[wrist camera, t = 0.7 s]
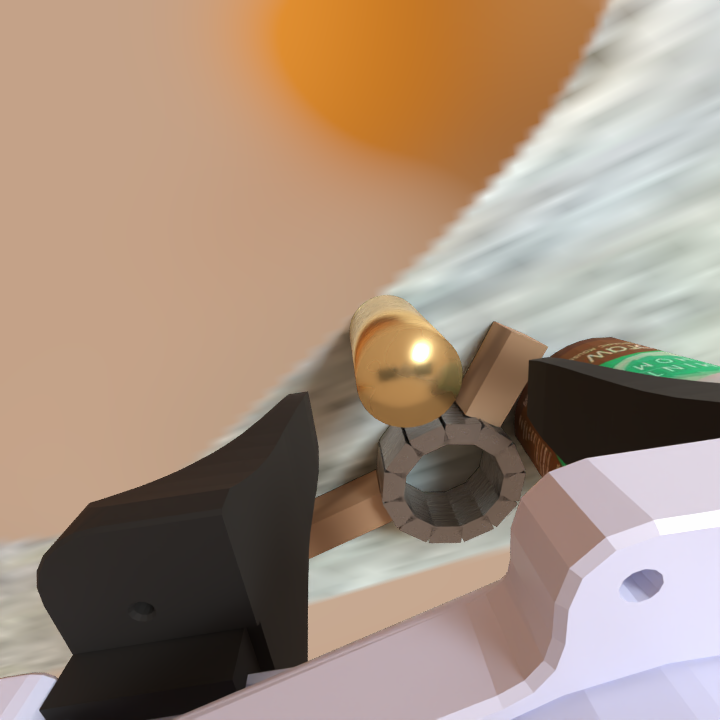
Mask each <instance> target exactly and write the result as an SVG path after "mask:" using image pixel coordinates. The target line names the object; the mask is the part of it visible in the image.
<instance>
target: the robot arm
mask: <svg viewBox="0 0 720 720" xmlns="http://www.w3.org/2000/svg"><path fill="white" fill-rule="evenodd" d="M527 417H528V418H529V420H530V422H531V423H532V425H533V426H534V428H535V429H536V431H537V432H538V433H539V435H540V436H541V438H542V439H543V440H544V441H545V442H546V444H547V445H548V446H549V447H550V448H551V449H552V450H553V451H554V452H555V453H556V454H557V456H558V457H559V458H560V459H561V460H562V461H563V462H564V463H565V464H566V466H564V467H561V468H558V469H555V470H553V471H550V472H548V473H547V474H546V475H544V476H543V477H542V478H541V479H540V480H539V481H538V482H537V483H536V484H535V485H534V486H533V487H532V488H531V489H530V490H529V491H528V492H527V493H525V494H524V495H523V497H522V498H521V499H520V502H519V505H518V508H517V511H516V514H515V517H514V520H513V523H512V526H511V540H510V563H509V568H508V572H507V573H506V575H505V576H504V577H502V578H501V579H500V580H498V581H496V582H493V583H491V584H489V585H486V586H484V587H482V588H479V589H477V590H475V591H473V592H470V593H468V594H465V595H463V596H461V597H458V598H456V599H454V600H451V601H449V602H446V603H444V604H442V605H439V606H437V607H435V608H432V609H430V610H427V611H425V612H423V613H420V614H418V615H416V616H413V617H411V618H409V619H406V620H404V621H402V622H399V623H397V624H395V625H392V626H390V627H387V628H385V629H383V630H380V631H378V632H376V633H373V634H371V635H369V636H366V637H364V638H362V639H359V640H357V641H354V642H352V643H350V644H347V645H345V646H343V647H340V648H338V649H336V650H333V651H331V652H329V653H326V654H324V655H321V656H319V657H317V658H314V659H312V660H310V661H308V658H307V657H308V654H307V653H308V572H309V543H310V532H311V525H312V518H313V510H314V503H315V496H316V489H317V481H318V473H319V451H318V442H317V436H316V431H315V426H314V421H313V416H312V410H311V405H310V400H309V395H308V392H302V393H295V394H289V395H287V396H286V397H285V398H283V399H282V400H281V401H280V402H279V403H278V404H277V405H276V406H275V407H273V408H272V409H271V410H270V411H269V412H268V413H267V414H266V415H265V416H263V417H262V418H261V419H260V420H259V421H258V422H256V423H255V424H254V425H253V426H251V427H250V428H249V429H248V430H246V431H245V432H244V433H242V434H241V435H240V436H238V437H237V438H236V439H234V440H233V441H231V442H230V443H228V444H227V445H225V446H223V447H222V448H220V449H219V450H217V451H215V452H214V453H212V454H210V455H208V456H206V457H204V458H203V459H201V460H199V461H197V462H195V463H193V464H191V465H189V466H187V467H185V468H183V469H181V470H179V471H177V472H174V473H172V474H170V475H168V476H165V477H163V478H160V479H158V480H156V481H153V482H151V483H148V484H146V485H143V486H140V487H137V488H135V489H131V490H129V491H126V492H122V493H120V494H116V495H114V496H110V497H108V498H104V499H101V500H98V501H95V502H91V503H89V504H88V505H87V506H86V508H85V509H84V510H83V511H82V512H81V513H80V514H79V516H78V517H77V518H76V519H75V520H74V521H73V522H72V523H71V525H70V526H69V527H68V528H67V529H66V530H65V531H64V533H63V534H62V535H61V536H60V537H59V538H58V539H57V541H56V542H55V543H54V544H53V545H52V546H51V547H50V549H49V550H48V551H47V552H46V553H45V554H44V555H43V557H42V560H41V562H40V564H39V567H38V569H37V589H38V592H39V594H40V597H41V599H42V602H43V604H44V607H45V608H46V610H47V612H48V613H49V615H50V617H51V619H52V620H53V622H54V624H55V625H56V627H57V629H58V630H59V632H60V634H61V635H62V637H63V639H64V640H65V642H66V644H67V645H68V647H69V649H70V651H71V652H72V654H73V656H72V657H71V659H70V661H69V662H68V664H67V665H66V667H65V669H64V670H63V672H62V674H61V675H60V677H59V678H56V676H53V675H50V674H47V673H28V674H22V675H15V676H9V677H3V678H0V720H720V383H714V382H702V381H693V380H684V379H675V378H667V377H660V376H653V375H647V374H641V373H635V372H630V371H624V370H619V369H614V368H609V367H604V366H599V365H594V364H589V363H584V362H579V361H574V360H568V359H562V358H552V357H546V358H539V359H532V360H529V366H528V397H527Z"/></svg>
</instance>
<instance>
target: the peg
mask: <svg viewBox="0 0 720 720" xmlns="http://www.w3.org/2000/svg"><path fill="white" fill-rule="evenodd" d="M349 331H350V341H351V349H352V356H353V363H354V370H355V378H356V385H357V391H358V395H359V398H360V400H361V402H362V404H363V406H364V407H365V409H366V410H367V411H368V412H369V413H370V414H371V415H372V416H373V417H375V418H376V419H378V420H379V421H381V422H383V423H385V424H388V425H391V426H395V427H404V428H407V427H416V426H421V425H424V424H427V423H429V422H432V421H433V420H435V419H437V418H438V417H440V416H441V415H443V414H444V413H445V412H446V411H447V410H448V409H449V408H450V407H451V405H452V404H453V403H454V401H455V400H456V398H457V396H458V394H459V391H460V388H461V384H462V377H463V373H462V365H461V361H460V358H459V356H458V354H457V352H456V350H455V349H454V347H453V346H452V345H451V344H450V343H449V342H448V341H447V340H446V339H445V338H444V337H443V336H442V335H441V334H440V333H439V332H438V331H437V330H436V329H435V328H434V327H433V326H432V325H431V324H430V323H429V322H428V321H427V320H426V319H425V318H424V317H423V316H422V315H421V314H420V313H419V312H418V311H417V310H416V309H415V308H414V307H413V306H412V305H411V304H410V303H408V302H407V301H406V300H404V299H402V298H399V297H396V296H391V295H383V296H377V297H374V298H372V299H369V300H368V301H366V302H365V303H363V304H362V305H361V306H360V307H359V308H358V309H357V311H356V312H355V314H354V316H353V318H352V320H351V324H350V330H349Z"/></svg>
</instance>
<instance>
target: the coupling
mask: <svg viewBox="0 0 720 720" xmlns="http://www.w3.org/2000/svg"><path fill="white" fill-rule="evenodd" d="M547 348H548V347H547V346H546V345H544V344H542V343H540V342H538V341H537V340H535V339H533V338H531V337H529V336H527V335H525V334H523V333H521V332H518V331H516V330H514V329H511V328H509V327H507V326H504V325H502V324H499V323H497V322H495V321H494V322H493V324H492V326H491V328H490V330H489V331H488V333H487V335H486V337H485V339H484V341H483V343H482V344H481V346H480V348H479V350H478V352H477V354H476V356H475V357H474V359H473V361H472V363H471V365H470V367H469V368H468V370H467V372H466V374H465V376H464V378H463V380H462V384H461V388H460V391H459V394H458V396H457V398H456V400H455V401H454V403H453V404H452V405H451V407H450V408H449V409H448V410H447V411H446V412H445V413H444V414H443V415H441V416H440V417H438V418H437V419H435V420H433V421H432V422H429V423H427V424H424V425H421V426H416V427H407V428H404V427H395V426H391V425H390V426H389V427H388V429H387V430H386V432H385V433H384V434H383V436H382V437H381V438H380V443H378V454H377V468H376V469H377V470H374V471H372V472H370V473H368V474H366V475H364V476H361V477H359V478H357V479H355V480H353V481H351V482H349V483H347V484H345V485H342V486H340V487H338V488H336V489H334V490H332V491H330V492H328V493H325V494H323V495H321V496H319V497H317V498H315V503H314V510H313V518H312V525H311V532H310V543H309V559H310V558H312V557H314V556H317V555H319V554H321V553H323V552H325V551H328V550H330V549H332V548H334V547H336V546H339V545H341V544H343V543H345V542H347V541H350V540H352V539H354V538H356V537H358V536H361V535H363V534H365V533H367V532H369V531H372V530H374V529H376V528H378V527H380V526H383V525H385V524H387V523H389V522H391V521H393V522H394V523H395V525H396V527H397V528H398V527H399V529H400V530H401V531H403V532H405V533H407V534H410V535H412V536H414V537H416V538H418V539H420V540H422V541H424V542H427V540H429V543H460V542H461V538H462V539H463V540H464V542H465V541H467V540H469V539H472V538H474V537H476V536H478V535H481V534H483V533H485V532H488V531H490V530H492V529H494V528H493V526H492V525H494V526H496V527H497V526H498V525H499V524H500V523H501V521H502V520H503V519H504V518H505V517H506V516H507V515H508V514H509V513H510V512H511V511H512V509H513V508H514V507H515V506H516V505H517V502H516V501H519V500H520V495H521V491H522V487H523V483H524V478H525V474H526V473H525V471H524V470H525V468H524V465H523V463H522V460H521V458H520V456H519V453H518V451H517V449H516V446H515V444H514V443H513V442H512V440H511V439H510V438H509V437H508V436H507V434H506V433H505V432H504V431H503V430H502V428H501V427H500V426H501V425H502V423H503V421H504V420H505V418H506V416H507V415H508V413H509V411H510V410H511V408H512V406H513V405H514V403H515V401H516V400H517V398H518V396H519V395H520V393H521V391H522V390H523V388H524V386H525V385H526V383H527V381H528V366H529V360H532V359H539V358H542V356H543V355H544V353H545V351H546V350H547ZM447 444H468V445H476V446H478V447H479V448H481V449H483V452H482V458H481V463H480V467H479V468H478V469H477V470H476V471H475V472H474V474H473V475H472V476H471V477H470V478H469V480H468V481H467V482H466V483H464V484H462V485H459V486H457V487H455V488H453V489H451V490H448V491H446V492H423V491H421V490H419V489H417V488H415V487H413V486H411V485H409V484H407V483H406V476H407V475H408V473H409V472H410V471H411V470H412V468H413V467H414V466H415V464H416V463H417V462H418V461H419V459H420V458H421V457H422V456H423V455H426V454H428V453H430V452H432V451H434V450H436V449H438V448H441V447H443V446H445V445H447Z"/></svg>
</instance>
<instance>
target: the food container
mask: <svg viewBox="0 0 720 720" xmlns="http://www.w3.org/2000/svg"><path fill="white" fill-rule="evenodd" d="M551 357H552V358H562V359H568V360H574V361H579V362H584V363H589V364H594V365H599V366H604V367H609V368H614V369H619V370H624V371H630V372H635V373H641V374H647V375H653V376H660V377H667V378H675V379H684V380H693V381H702V382H714V383H720V366H716V365H712V364H709V363H705V362H701V361H698V360H694V359H690V358H686V357H683V356H679V355H675V354H672V353H668V352H664V351H661V350H657V349H653V348H649V347H646V346H642V345H638V344H635V343H631V342H627V341H623V340H620V339H616V338H612V337H606V338H591V339H587V340H583V341H579V342H576V343H574V344H571V345H569V346H567V347H565V348H563V349H561V350H560V351H558V352H556V353H555V354H553V355H552V356H551ZM527 397H528V381H527V383H526V385H525V386H524V388H523V390H522V392H521V394H520V397H519V400H518V402H517V406H516V411H515V418H514V428H515V436H516V438H517V439H518V441H519V442H520V444H521V445H522V447H523V448H524V450H525V452H526V453H527V455H528V456H529V458H530V459H531V461H532V462H533V464H534V466H535V467H536V469H537V470H538V472H539V473H540V475H541V476H542V477H543V476H544V475H546V474H547V473H548V472H550V471H553V470H555V469H558V468H561V467H564V466H566V464H565V463H564V462H563V461H562V460H561V459H560V458H559V457H558V456H557V454H556V453H555V452H554V451H553V450H552V449H551V448H550V447H549V446H548V445H547V444H546V442H545V441H544V440H543V439H542V438H541V436H540V435H539V433H538V432H537V431H536V429H535V428H534V426H533V425H532V423H531V422H530V420H529V418H528V417H527Z"/></svg>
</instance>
